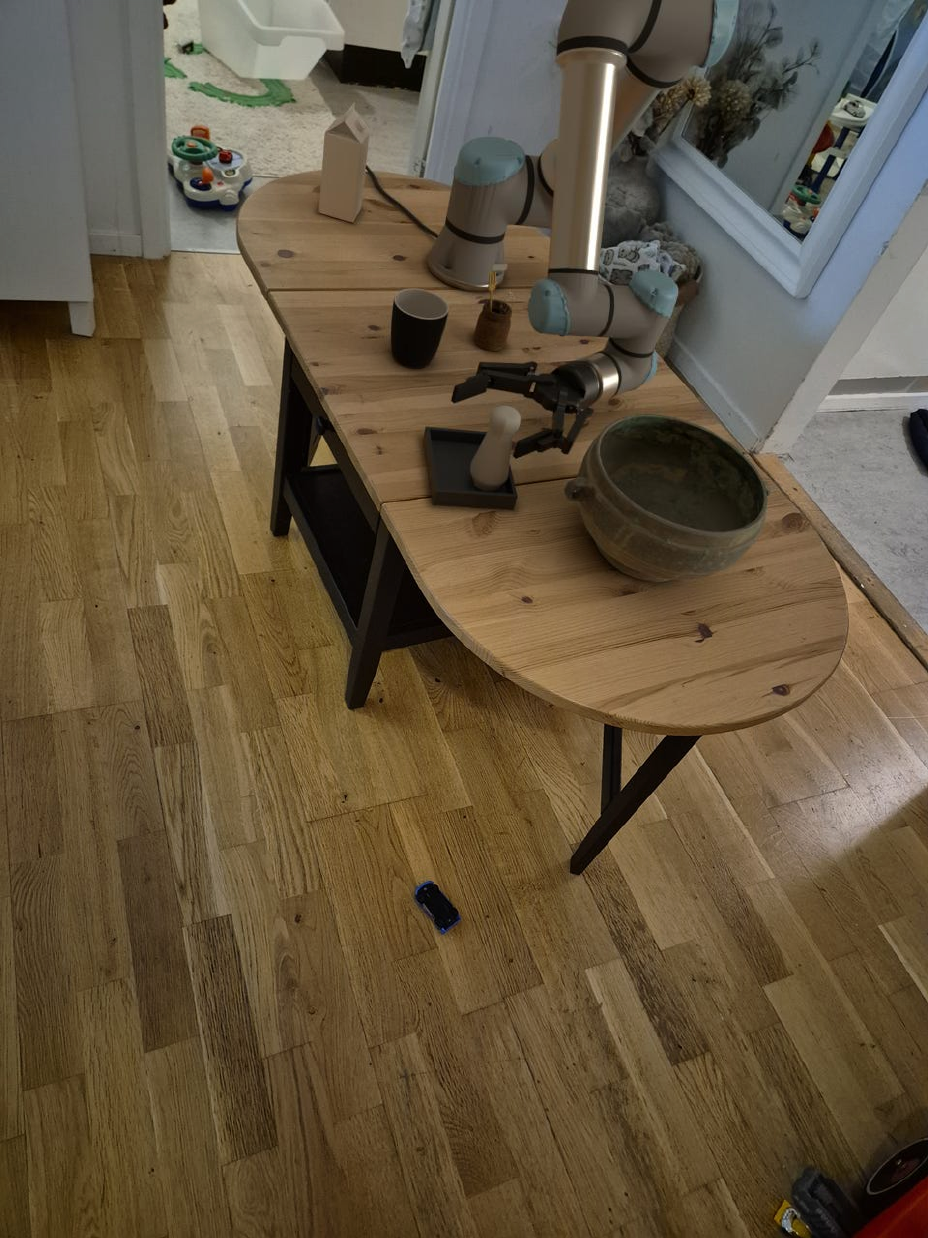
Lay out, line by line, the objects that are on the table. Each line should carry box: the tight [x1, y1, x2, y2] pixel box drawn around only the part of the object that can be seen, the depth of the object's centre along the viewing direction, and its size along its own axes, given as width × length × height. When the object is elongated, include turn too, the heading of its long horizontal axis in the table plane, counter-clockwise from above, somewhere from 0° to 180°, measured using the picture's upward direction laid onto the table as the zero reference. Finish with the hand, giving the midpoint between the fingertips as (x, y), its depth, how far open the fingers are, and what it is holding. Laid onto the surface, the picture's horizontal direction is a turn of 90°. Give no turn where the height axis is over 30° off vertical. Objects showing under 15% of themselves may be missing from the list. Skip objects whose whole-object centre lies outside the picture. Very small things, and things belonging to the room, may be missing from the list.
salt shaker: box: [470, 404, 522, 492], centre depth 114 cm, size 6×6×13 cm
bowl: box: [564, 413, 772, 583], centre depth 113 cm, size 32×26×15 cm
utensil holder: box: [473, 270, 517, 352], centre depth 139 cm, size 6×6×12 cm
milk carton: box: [318, 102, 371, 223], centre depth 155 cm, size 7×7×19 cm
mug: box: [390, 287, 449, 369], centre depth 133 cm, size 12×9×10 cm
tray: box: [422, 426, 519, 511], centre depth 119 cm, size 14×12×3 cm
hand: (484, 421), depth 114 cm, fingers open, 13 cm apart
